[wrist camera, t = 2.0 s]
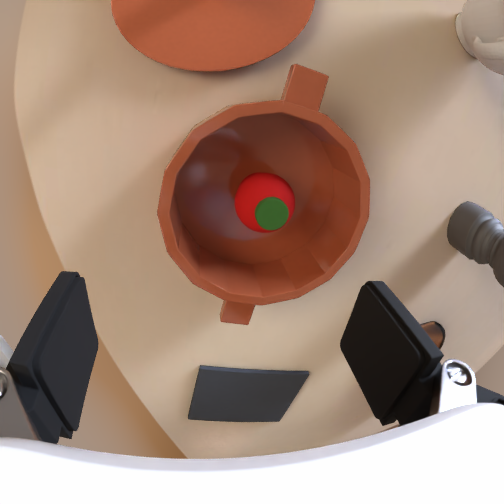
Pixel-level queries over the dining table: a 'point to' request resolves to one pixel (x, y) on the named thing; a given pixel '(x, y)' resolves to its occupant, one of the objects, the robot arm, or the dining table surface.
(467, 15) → the teacup
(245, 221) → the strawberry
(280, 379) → the mat
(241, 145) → the pot
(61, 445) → the robot arm
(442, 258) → the dining table surface
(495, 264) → the candle holder
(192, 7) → the lid
